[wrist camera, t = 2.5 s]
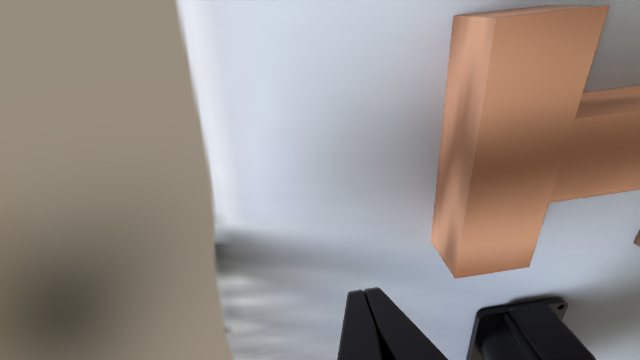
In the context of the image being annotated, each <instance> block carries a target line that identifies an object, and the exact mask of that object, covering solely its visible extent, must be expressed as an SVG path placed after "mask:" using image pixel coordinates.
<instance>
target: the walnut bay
mask: <svg viewBox="0 0 640 360" xmlns="http://www.w3.org/2000/svg"><path fill="white" fill-rule="evenodd" d="M634 243H635V244H636V245H638V246H639V247H640V231H639V233H638V235H637V237H636V240H635V242H634Z"/></svg>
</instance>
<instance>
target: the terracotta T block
mask: <svg viewBox="0 0 640 360" xmlns="http://www.w3.org/2000/svg"><path fill="white" fill-rule="evenodd" d="M608 9H609V6H539V7H529V8H520V9H511V10H502V11H493V12H484V13H474V14H465V15H456V16H453V26H452V36H451V46H450V56H449V66H448V76H447V86H446V96H445V106H444V116H443V126H442V136H441V146H440V156H439V166H438V176H437V186H436V196H435V206H434V216H433V226H432V236H431V242H432V244H433V245H434V247H435V248H436V250H437V251H438V253H439V255H440V256H441V258H442V259H443V261H444V262H445V264H446V265H447V267H448V268H449V270H450V271H451V273H452V275H453V276H454V278H455V279H456V278H462V277H468V276H475V275H481V274H487V273H494V272H500V271H506V270H513V269H519V268H525V267H529V266H530V263H531V259H532V256H533V253H534V250H535V246H536V243H537V240H538V237H539V233H540V230H541V227H542V224H543V220H544V217H545V214H546V211H547V207H548V204H549V203H551V202H558V201H565V200H571V199H578V198H585V197H592V196H599V195H606V194H612V193H619V192H626V191H633V190H640V86H632V87H624V88H616V89H608V90H600V91H592V92H584V93H583V90H584V87H585V84H586V81H587V77H588V74H589V71H590V68H591V64H592V61H593V58H594V55H595V52H596V48H597V45H598V42H599V39H600V35H601V32H602V29H603V26H604V22H605V19H606V16H607V13H608Z"/></svg>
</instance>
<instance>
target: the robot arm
mask: <svg viewBox="0 0 640 360" xmlns="http://www.w3.org/2000/svg"><path fill="white" fill-rule="evenodd" d="M567 307H568V303H567V302H566V301H565V300H564V299H563V298H554V299H548V300H542V301H536V302H530V303H524V304H518V305H511V306H505V307H499V308H493V309H487V310H482V311H480V312H479V313H478V314H477V315H476V319H475V323H474V328H473V332H472V337H471V341H470V346H469V350H468V355H467V360H596V358H595V357H594V356H593V355H592V353H591V352H590V351H589V350H588V349H587V348H586V347H585V346H584V345H583V344H582V342H581V341H580V340H579V339H578V338H577V337H576V336H575V335H574V334H573V332H572V331H571V330H570V329H569V328H568V327H567V326H566V325H565V324H564V323H563V321H562V319H563V316H564V314H565V311H566V309H567ZM337 360H448V359H447V358H446V357H445V356H444V355H443V354H442V353H441V352H440V350H439V349H438V348H437V347H436V346H435V345H434V344H433V343H432V342H431V341H430V340H429V339H428V338H427V337H426V336H425V335H424V334H423V333H422V332H421V331H420V330H419V329H418V328H417V326H416V325H415V324H414V323H413V322H412V321H411V320H410V319H409V318H408V317H407V316H406V315H405V314H404V313H403V312H402V311H401V310H400V309H399V308H398V307H397V306H396V305H395V304H394V302H393V301H392V300H391V299H390V298H389V297H388V296H387V295H386V294H385V293H384V292H383V291H382V290H381V289H380V288H378V287H375V288H369V289H365V290H364V291H363V290H356V291H350V292H349V293H348V296H347V302H346V308H345V315H344V321H343V327H342V333H341V340H340V346H339V352H338V358H337Z"/></svg>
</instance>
